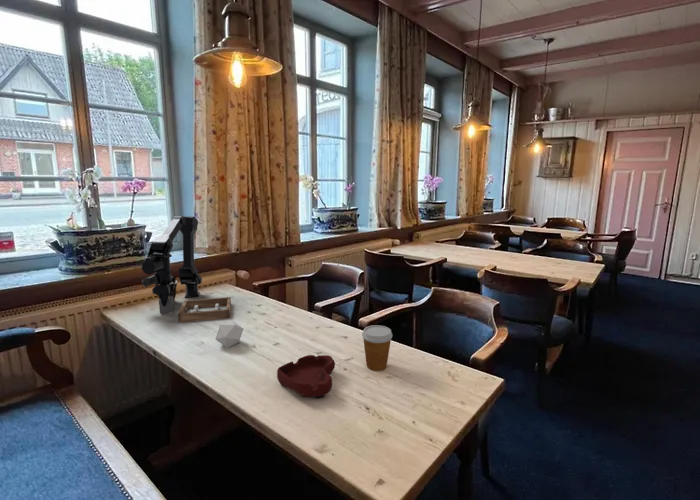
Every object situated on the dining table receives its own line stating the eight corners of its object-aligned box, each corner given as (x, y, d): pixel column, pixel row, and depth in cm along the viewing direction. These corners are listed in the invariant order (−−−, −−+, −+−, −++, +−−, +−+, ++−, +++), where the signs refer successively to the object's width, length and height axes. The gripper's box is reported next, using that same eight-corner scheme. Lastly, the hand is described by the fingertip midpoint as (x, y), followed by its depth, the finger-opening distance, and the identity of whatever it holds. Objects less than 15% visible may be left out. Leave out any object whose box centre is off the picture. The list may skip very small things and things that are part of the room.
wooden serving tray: (184, 308, 172) (184, 300, 171) (230, 304, 177) (230, 297, 177) (178, 322, 155) (177, 314, 154) (229, 317, 160) (229, 309, 160)
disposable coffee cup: (356, 362, 122) (356, 327, 120) (382, 357, 126) (383, 322, 123) (369, 376, 113) (370, 339, 111) (397, 370, 117) (398, 333, 115)
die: (245, 348, 133) (249, 321, 138) (224, 344, 127) (228, 315, 131) (230, 351, 138) (234, 324, 142) (208, 347, 131) (213, 319, 136)
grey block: (162, 309, 170) (160, 295, 169) (174, 308, 171) (173, 294, 170) (159, 313, 165) (158, 298, 164) (172, 312, 167) (171, 297, 165)
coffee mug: (157, 298, 181) (156, 279, 179) (176, 297, 185) (177, 278, 182) (156, 308, 171) (156, 288, 169) (177, 307, 175) (177, 287, 172)
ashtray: (283, 368, 119) (283, 353, 118) (335, 369, 118) (335, 354, 117) (270, 401, 101) (269, 384, 100) (331, 402, 101) (331, 385, 100)
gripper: (147, 265, 171) (150, 298, 174) (136, 275, 154) (140, 311, 157) (174, 264, 174) (177, 296, 177) (166, 273, 157) (170, 309, 159)
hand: (166, 303), depth 167 cm, fingers open, 8 cm apart
